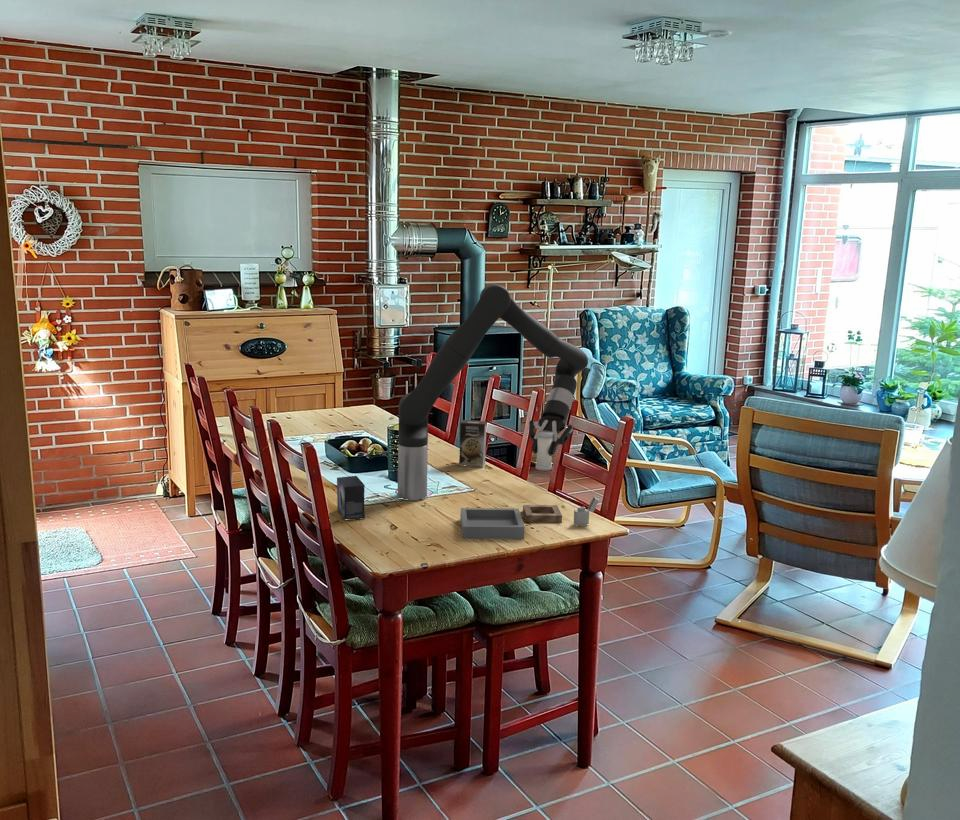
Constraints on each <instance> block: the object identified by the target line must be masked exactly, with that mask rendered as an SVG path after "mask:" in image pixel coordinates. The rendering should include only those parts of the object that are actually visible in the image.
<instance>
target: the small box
mask: <svg viewBox="0 0 960 820" xmlns="http://www.w3.org/2000/svg"><path fill="white" fill-rule="evenodd" d="M365 487H366V486H365V484H364V483H363V481H362V480H361V479H360V477H358V476H357V475H349V476H348V475H347V476H339V477H336V494H337V498H336V500H337V502H336V504H337V506H336V507H337V511H338V513H339V512H340V513H339V514H340V516H341V515H342V516H343V517H342V516H341V517H342V518H344V519H357V520H359V519H358V518H365V519H366V513H365V510H366V509H365V506H366V504H365ZM344 519H343V520H344Z"/></svg>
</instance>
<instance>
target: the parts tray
mask: <svg viewBox="0 0 960 820" xmlns="http://www.w3.org/2000/svg"><path fill="white" fill-rule="evenodd" d="M520 512H521V511H520V509H519V508H507V507H506V508H503V507H502V508H500V507H498V508H497V507H495V508H493V507H492V508H491V507H489V508H488V507H487V508H486V507H485V508H484V507H481V508H480V507H479V508H478V507H476V508H475V507H460V527H461V536H462V540H525V530H526V528H525V524H524V522H523V518H522V515H521V513H520Z"/></svg>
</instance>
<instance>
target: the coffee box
mask: <svg viewBox="0 0 960 820" xmlns="http://www.w3.org/2000/svg"><path fill="white" fill-rule="evenodd" d="M459 427H460V428H459V431H460V433H459V461H458V466H459V465H466V466H465V467H469V466H484V467H485V465H486V444H487V443H486V442H487V420H471V419H469V420H468V419H462V420H461V421H460V426H459ZM484 464H485V465H484Z"/></svg>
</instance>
